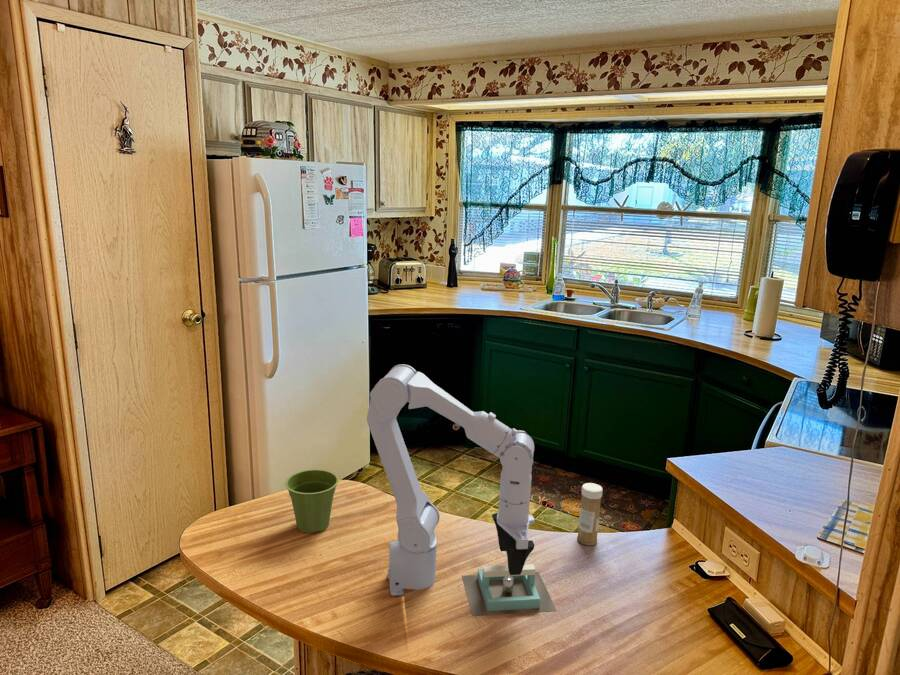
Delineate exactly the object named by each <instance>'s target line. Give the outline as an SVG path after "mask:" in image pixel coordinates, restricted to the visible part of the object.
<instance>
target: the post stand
mask: <svg viewBox="0 0 900 675" xmlns="http://www.w3.org/2000/svg"><path fill="white" fill-rule="evenodd" d="M477 575H478V574H472V575H469V574H468V575H461V578H462V582H463V586H464V590H465V593H466V597H467V601H468V604H469V608H470V612H471V616H472V617H477V616H478V617H479V616H481V617H482V616H497V615H510V614H511V615H513V614H527V613H542V612H543V613H544V612H545V613H546V612H557V608H556V607H555V604H554V602H553V600H552V598H551V595H550V592H549V591H548V589H547V587H546V584H545V583H544V580H543V579H542V576H541V574H540V572H539V571H535V582H534V585H535V588H536V590H537V592H538V594H539V597H540V608H533V609H517V610H500V611H487V608H486V605H485V602H484V598H483V595H482V592H481V588H480V585H479V582H478V579H477ZM489 590H490V593H491V596H492V598H502V597H520V596H529V594H528V592H527V589H526V587H525V585H524V582H523V580H522V579H513V577H511V576H505V577H504V578H503V580H490V581H489Z"/></svg>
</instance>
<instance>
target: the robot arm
mask: <svg viewBox="0 0 900 675" xmlns="http://www.w3.org/2000/svg"><path fill="white" fill-rule="evenodd" d="M369 397H370V401H369V405H368V408H367V410H368V411H367V414H366V422H367V426H368V428H369V431H370V434H371V437H372V439H373V441H374V445H375V448H376V450H377V453H378V455H379V458H380V461H381V464H382V466H383V469H384V470H383V471H384V472H385V476H386V477H387V479H388V480H387V481H388V484H389V486H390V488H391V491H392V494H393V496H394V500H395V502H396V513H395V514H396V515H395V516H396V517H395V520H396V521H395V522H396V524H397V529H398V531H397V540H395V541H390V542H389V550H388V551H389V554H388V555H389V557H388V569H387V579H389V580H388V581H389V582H388V583H389V592H390V595H391V596H392V597H393V596H394V597H395V596H405V592H404V589H407V590H414V591H415V590H416V591H419V590H426V589H428V588H430V587H432V586H433V584H434V583H435V581H436V575H437V574H436V570H437V553H438V552H437V550H438V549H437V548H438V539H437V536H436V534H435V529H436V527H437V526H438V524H439V522H440V517H441V516H440V512H439V510H438V508H437V507H436V506H435V505H434V504H433V503H432V502H431V499H430V498H429V494H427V493H426V492H424V491H423V490H422V488H421V485H420V482H419V479H418V477H417V474H416V471H415V468H414V465H413V463H412V460H411V459H412V458H411V457H410V454H409V450H408V448H407V446H406V444H405V441H404V440H405V439H404V438H403V434H402V432H401V429H400V426H399V423H398V420H397V417H398V415H399V413H400V412H401V410H402V408H404V406H406V404H407V403H409V404H408V410H412V409H418V408H425V407H427V408H429V409H431V410H433V411H434V412H435V413H437V414H439V415H441V416H443V417H445V418H446V419H448V420H450V421H451V422H454V423H455V424H457V425H459V426H460V427H462V428H463V429H464V433H465V436H466V438H467V439H469V440H470V441H472V442H473V443H475V444H476V445H478V446H480V447H481V448H482V449H484V450H486V451H487V452H489V453H491V454H492V455H493V456H495V457H497V458H499V461H500V464H501V467H502V469H501V472H500V480H499V482H500V483H499V497H498V498H499V499H498V511H497V512H495V513H493V514H492V515H491V517H492V520H493V522H494V525H495V528H496V533H497V540H498V546H499V550H500V552H505V553H506V558H507V566H508V570H509V573H510V575H520V574H521V572H522V570H523V567H524V565H526V564H525V563H526V562H527V559H528V557H529V556H530V554H531V553H532V552H533V550H534V549H535V543H534V541H533V540H532V539H531V540H529V537H528V532H529V528H530V527H529V526H530V524H535V518H534V516H533V515H532V514H530V503H531V490H532V481H533V480H532V478H533V476H532V470H533V468H532V467H533V464H534V452H535V442H534V440H533V438H532V436H530V435H529V434H528V433H527V432H526V431H525V430H520V429H519V430H517V429H516V428H514V427H513V428H510V427H509V426H508V425H506V424H505V423H503V422H502V421H500V420H499V419H497V418H496V417H497V415H496V414H495V413H494V412H491V411H490V412H489V413H487V412H486V411H484V410H481V411H480V410H479V411H473V410H471V409H470V408H469V407H468V406H466V405H464V403H462V402H460V401H459V400H458V399H456V398H455V397H454V396H452V395H451V394H450V393H448V392H447V391H445V390H444V389H443V388H442V387H440V386H438V385H437V384H435V383H434V382H433V381H432V380H431V379H430V378H429V377H428V376H427V375H425V373H423V372H421V371H417V370H416V369H415V368H414V367H413V366H411V365H409V364H403V363H402V364H397V365H394V366H393V367H392V368H390V370H389V371H388V373H387V374H386V375H384V377H383V378H380V379H379V381H378V382H377V383H376V384H375V385H374V387H373V388H372V389H371V391H370V393H369Z"/></svg>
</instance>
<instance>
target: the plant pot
mask: <svg viewBox="0 0 900 675" xmlns="http://www.w3.org/2000/svg"><path fill="white" fill-rule="evenodd" d="M339 481H340V479H339V476H338V475H337V474H336V473H334V472H332V471H330V470H325V469H321V468H320V469H318V468H312V469H304V470H301V471H298V472H294V473H293V474H291V475H290V476H289V477H287V479H286V480H285V481H284V486H285V488H286V489H287V490H288V495H289V497H290V499H291V504H292V508H293V509H292V510H293V514H294V518H295V522H296V527H297V529H298V530H299V531H301V532H303V533H307V534H314V533H316V532H323V531H325V529H327V528H328V527H329V525H330V522H331V513H332V508H333V500H334V495H335V492H336V487H337V486H338V484H339Z"/></svg>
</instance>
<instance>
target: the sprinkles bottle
mask: <svg viewBox="0 0 900 675" xmlns="http://www.w3.org/2000/svg"><path fill="white" fill-rule="evenodd" d="M603 491H604V490H603V486H601V485H600V484H597V483H593V482H585V483H583V485H582V486H581V500H580V501H581V502H580V506H579V507H580V509H579V518H578V532H577V537H576V539H577V542H579V543H580V544H582V545H585V546H594V545H596V544H597V542H598V531H599V525H600V524H599V522H600V512H601V502H602V497H603Z"/></svg>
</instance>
